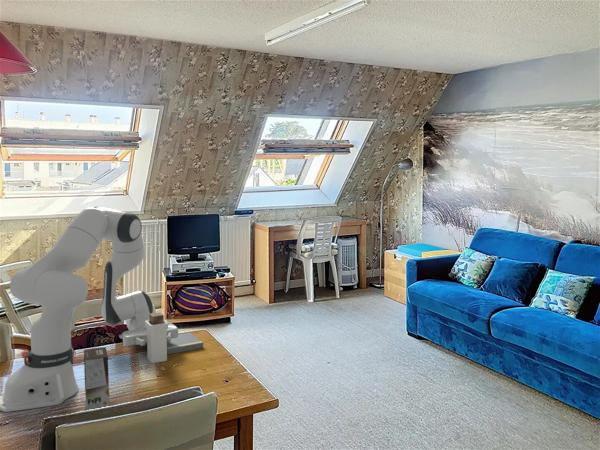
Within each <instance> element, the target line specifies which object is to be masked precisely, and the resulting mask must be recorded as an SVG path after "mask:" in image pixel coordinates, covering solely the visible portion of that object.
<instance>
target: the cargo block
mask: <svg viewBox="0 0 600 450" xmlns="http://www.w3.org/2000/svg"><path fill="white" fill-rule="evenodd" d="M164 320H165V319H164V314H163V313H162V312H160V311H159V312H153V313H151V314H149V322H150V324H151V325H155V324H162V323H164Z"/></svg>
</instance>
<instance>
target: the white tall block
mask: <svg viewBox="0 0 600 450" xmlns="http://www.w3.org/2000/svg"><path fill="white" fill-rule="evenodd" d="M165 320H166V319H164V323H162V324H155V325H151V324H150V322H149V320H147V321H145V327H146V328H147V345H146V347H147V349H146V350H147V351H146V352H147V360H148V361H149V362H150V363H151V364H157V363H160V362H161V363H162V362H166V361H168V354H167V329H168V323H169V321H168V322H166V321H165Z"/></svg>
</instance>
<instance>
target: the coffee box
mask: <svg viewBox="0 0 600 450" xmlns="http://www.w3.org/2000/svg"><path fill="white" fill-rule="evenodd" d="M108 355H109V354H108V352H107V348H106V346H103V347H96V348H91V349H84V350H83V367H84V368H83V370H84V371H83V372H84V395H85V409H86V411H87V410H89V409H95V408H101V407H106V406H109V407H110V386H109V385H110V384H109V380H110V378H109V356H108Z"/></svg>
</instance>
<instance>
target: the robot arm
mask: <svg viewBox="0 0 600 450" xmlns="http://www.w3.org/2000/svg"><path fill="white" fill-rule="evenodd" d="M142 226H143V225H142V222H141V220H140V218H139V216H138V215H137V214H134V213H132V212H129V211H128V212H126V211H121V210H119V209H114V208H110V207H99V206H90V207H86V208H84V209H82V211H81V212H79V213H78V214H77V215H76V216H75V217H74V218H73V219H72V221H71V222H70V223H69V224H68V226H67V227H66V229H65V230H64V232H63V233H62V234H61V235H60V237H59V238H58V240H57V241H56V243H54V245H53V246H52V248H51V249H50V250H48V251H47V252H46V253H44V254H43V256H42V257H40V258H39V259H37V261H34V262H32V263H31V265H28V266H27V267H24V268H22V269H19V270H17V271H16V272H15V273H14V274H13V276H12V277H11V279H10V282H9V290H10V293H11V295H12V296H13V297H14V298H15V299H17V300H20V301H21V302H24V303H26V304H30V305H31V304H32V305H37V306H41V309H42V310H41V315H40V317H39V319H37V320H36V321H34V322H33V323H32V325H31V326H30V347H31V348H30V349H31V350H30V351H28V350H27V349H25V350H23V351H22V352H21V357H22V358H23V362H24V364H23V365H21V366H20V368H18V369H17V370H16V371H14V372H13V373H11V374H10V376H8V378H7V380H6V382H5V384H4V385H5V386H4V390H3V391H1V392H0V411H1V412H4V413H9V412H15V411H17V412H18V411H23V410H30V409H38V408H44V407H51V406H52V407H53V406H58V405H61V404H62V403H64V402H65V400H67V399H69V398H71V397H73V396H75V395H76V394H77V393H78V391H79V386H78V383H77V380H76V376H75V371H74V367H73V366H74V348H73V346H72V337H71V336H72V331H71V330H72V321H73V318H74V314H75V312H76V310H77V308H79V307H80V306H81V305H83V303H84V302H85V301H86V300H87V298H88V295H89V286H88V285H89V284H88V282H87V281H86V279H85V278H84V277H83V276H81V275H78V274H76V273H74V272H75V271H77V270H80V269H82V268H83V267H85V266H86V265H87V264H88V262H90V259H91V258H92V256H93V254H94V253H95V251H96V250H97V248H98V247H99V245H100V243H101V241H102V240H105V241H109V242H110V241H111V245H112V254H111V257H110V259H109V260H108V262H106V264H105V266H104V274H103V291H102V301H101V302H102V303H101V309H100V310H101V312H100V313H101V317H102V319H103V320H104V322H105V323H107V324H110V325H113V326H115V325H117V324H119V323H122V322H124V321H125V324H126V327H127V329H128V330H125V331H123V332H122V334H119V335H118V336H119V338H120V340H121V339H122V343H123V345H124V346H126V347H129V346H130V347H131V346H135V345H138V346H141V347H142V346H147V345H146V343H147V328H146V327H145V321H147V320H149V314H151V313H154V309H153V302H152V300H151V298H150V296H149V294H147V293H146V292H145V291H143V290H136V291H133V292H129V293H127V294H123V295H119V296H117V295H116V294H117V284H118V282H119V280H120V279H121V278H122V277H123V276H124V275H126V274H127V273H129V272H130V271H132V270H134V269H136V268H137V267H138V266H139V265H141V263H142V261H143V259H144V258H145V246H144V240H143V235H142V228H143V227H142ZM164 320H165V321H166V322H168V329H167V341H171V339H172V338H177V337H178V334H179V327H177V326H176V325H175V324H173V323H172V322H169V320H168V319H164Z"/></svg>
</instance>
